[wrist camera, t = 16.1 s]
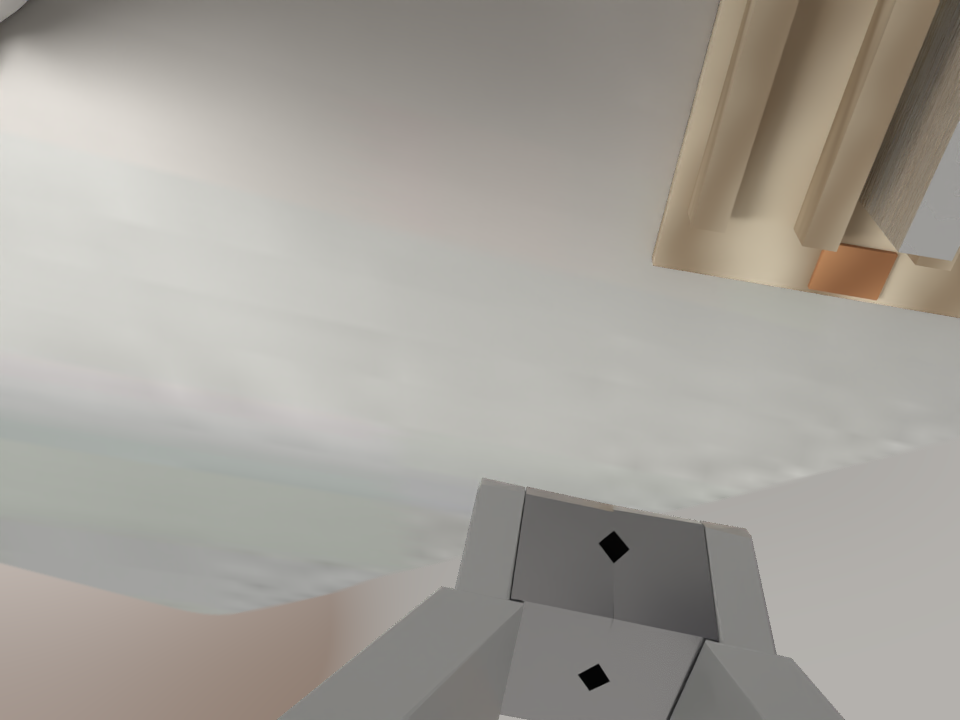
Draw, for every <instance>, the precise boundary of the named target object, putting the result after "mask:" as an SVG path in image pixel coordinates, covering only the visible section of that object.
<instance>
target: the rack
mask: <svg viewBox="0 0 960 720" xmlns="http://www.w3.org/2000/svg"><path fill="white" fill-rule="evenodd" d="M939 3H940V0H720V4H719V7H718V11H717V15H716V19H715V22H714V26H713V30H712V34H711V37H710V41H709V45H708V49H707V52H706V56H705V60H704V64H703V68H702V71H701V75H700V79H699V83H698V86H697V90H696V94H695V98H694V101H693V105H692V109H691V113H690V116H689V120H688V124H687V128H686V131H685V135H684V139H683V143H682V147H681V150H680V154H679V158H678V162H677V165H676V169H675V173H674V177H673V180H672V184H671V188H670V192H669V195H668V199H667V203H666V207H665V211H664V214H663V218H662V222H661V226H660V229H659V233H658V237H657V241H656V244H655V248H654V252H653V256H652V261H653V266H658V267H664V268H670V269H676V270H682V271H687V272H693V273H699V274H705V275H711V276H717V277H723V278H728V279H734V280H740V281H746V282H752V283H758V284H763V285H769V286H775V287H781V288H787V289H793V290H799V291H804V292H810V293H816V294H822V295H828V296H834V297H840V298H845V299H851V300H857V301H863V302H869V303H875V304H881V305H886V306H892V307H898V308H904V309H910V310H916V311H922V312H927V313H933V314H939V315H945V316H951V317H957V318H960V246H959V248H958V250H957V252H956V254H955V256H954V258H953V260H952V261H949V260H943V259H937V258H931V257H924V256H918V255H912V254H906V253H900V252H898V251H897V250H896V249H895V247H894V246H893V245H892V243H891V242H890V241H889V239H888V238H887V237H886V235H885V234H884V233H883V232H882V230H881V229H880V228H879V226H878V225H877V224H876V222H875V221H874V220H873V218H872V217H871V216H870V215H869V213H868V212H867V211H866V209H865V208H864V207H863V205H862V204H861V203H860V201H859V200H858V199H859V197H860V194H861V192H862V189H863V187H864V185H865V182H866V180H867V177H868V175H869V172H870V170H871V168H872V165H873V163H874V160H875V158H876V155H877V153H878V151H879V148H880V146H881V143H882V141H883V138H884V136H885V134H886V131H887V129H888V126H889V124H890V122H891V119H892V117H893V114H894V112H895V109H896V107H897V105H898V102H899V100H900V97H901V95H902V92H903V90H904V88H905V85H906V83H907V80H908V78H909V76H910V73H911V71H912V68H913V66H914V63H915V61H916V59H917V56H918V54H919V51H920V49H921V46H922V44H923V42H924V39H925V37H926V34H927V32H928V30H929V27H930V25H931V22H932V20H933V17H934V15H935V13H936V10H937V8H938V5H939Z"/></svg>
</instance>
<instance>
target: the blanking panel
mask: <svg viewBox="0 0 960 720" xmlns="http://www.w3.org/2000/svg"><path fill="white" fill-rule="evenodd" d="M858 200H859V201H860V203H861V204H862V205H863V207H864V208H865V209H866V211H867V212H868V213H869V215H870V216H871V217H872V218H873V220H874V221H875V222H876V224H877V225H878V226H879V228H880V229H881V230H882V232H883V233H884V234H885V235H886V237H887V238H888V239H889V241H890V242H891V243H892V245H893V246H894V247H895V249H896V250H897V251H898V252H900V253H906V254H912V255H918V256H924V257H931V258H937V259H943V260H949V261H952V260H953V258H954V256H955V254H956V252H957V250H958V248H959V246H960V0H940V3H939V5H938V8H937V10H936V13H935V15H934V17H933V20H932V22H931V25H930V27H929V30H928V32H927V34H926V37H925V39H924V42H923V44H922V46H921V49H920V51H919V54H918V56H917V59H916V61H915V63H914V66H913V68H912V71H911V73H910V76H909V78H908V80H907V83H906V85H905V88H904V90H903V92H902V95H901V97H900V100H899V102H898V105H897V107H896V109H895V112H894V114H893V117H892V119H891V122H890V124H889V126H888V129H887V131H886V134H885V136H884V138H883V141H882V143H881V146H880V148H879V151H878V153H877V155H876V158H875V160H874V163H873V165H872V168H871V170H870V172H869V175H868V177H867V180H866V182H865V185H864V187H863V189H862V192H861V194H860V197H859V199H858Z"/></svg>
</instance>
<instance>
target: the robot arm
mask: <svg viewBox="0 0 960 720" xmlns="http://www.w3.org/2000/svg"><path fill="white" fill-rule="evenodd" d="M27 1H28V0H0V22H2V21H3V20H4V19H6V18H7V17H9V16H10V15H12V14H13V13H14V12H16V11H17V10H18V9H19V8H21V7H22V6H23V5H24V4H25V3H26V2H27ZM500 714H501V715H506V716H512V717H517V718H522V719H528V720H845V719H844V718H843V717H842V716H841V715H840V713H838V711H837V710H836V709H835V708H834V707H833V705H832V704H831V703H830V702H829V701H828V700H827V698H826V697H825V696H824V695H823V694H822V693H821V692H820V690H819V689H818V688H817V687H816V686H815V685H814V684H813V682H812V681H811V680H810V679H809V678H808V677H807V675H806V674H805V673H804V672H803V671H802V670H801V668H800V667H799V666H798V665H797V664H796V663H795V662H794V660H793V659H792V658H789V657H784V656H780V655H777V654H776V650H775V644H774V640H773V635H772V630H771V626H770V622H769V616H768V612H767V607H766V602H765V598H764V593H763V589H762V584H761V579H760V574H759V570H758V565H757V560H756V555H755V551H754V546H753V541H752V537H751V535H750V534H749V532H748V531H747V530H746V529H744V528H739V527H733V526H728V525H722V524H716V523H710V522H705V521H700V522H698V521H696V520H691V519H685V518H680V517H674V516H669V515H664V514H659V513H653V512H648V511H643V510H637V509H632V508H626V507H621V506H616V505H610V504H605V503H600V502H596V501H591V500H587V499H582V498H578V497H573V496H568V495H564V494H559V493H555V492H550V491H545V490H541V489H536V488H532V487H526V491H525V487H523V486H518V485H514V484H509V483H505V482H500V481H496V480H491V479H487V478H482V480H481V482H480V484H479V486H478V490H477V495H476V499H475V503H474V508H473V512H472V516H471V521H470V525H469V529H468V534H467V538H466V542H465V547H464V551H463V555H462V560H461V564H460V569H459V573H458V577H457V582H456V586H455V589H453V588H447V587H442V586H441V587H440V588H439V589H437V590H436V591H435V592H434V593H433V594H431V595H430V596H429V597H428V598H426V599H425V600H424V601H423V602H422V603H420V604H419V605H418V606H417V607H415V608H414V609H413V610H412V611H410V612H409V613H408V614H407V615H405V616H404V617H403V618H402V619H401V620H399V621H398V622H397V623H395V625H393V626H392V627H391V628H389V629H388V630H387V631H386V632H384V633H383V634H382V635H381V636H379V637H378V638H377V639H376V640H375V641H373V642H372V643H371V644H370V645H368V646H367V647H366V648H365V649H364V650H362V651H361V652H360V653H358V654H357V655H356V656H355V657H354V658H353V659H351V660H350V661H349V662H347V663H346V664H345V665H344V666H342V667H341V668H340V669H339V670H338V671H336V672H335V673H334V674H333V675H331V676H330V677H329V678H328V679H326V680H325V681H324V682H323V683H322V684H320V685H319V686H318V687H317V688H315V689H314V690H313V691H312V692H310V693H309V694H308V695H307V696H306V697H304V698H303V699H302V700H300V701H299V702H298V703H297V704H296V705H294V706H293V707H292V708H291V709H289V710H288V711H287V712H286V713H285V714H283V715H282V716H281V717H279V718H278V719H277V720H498V719H499V715H500Z"/></svg>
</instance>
